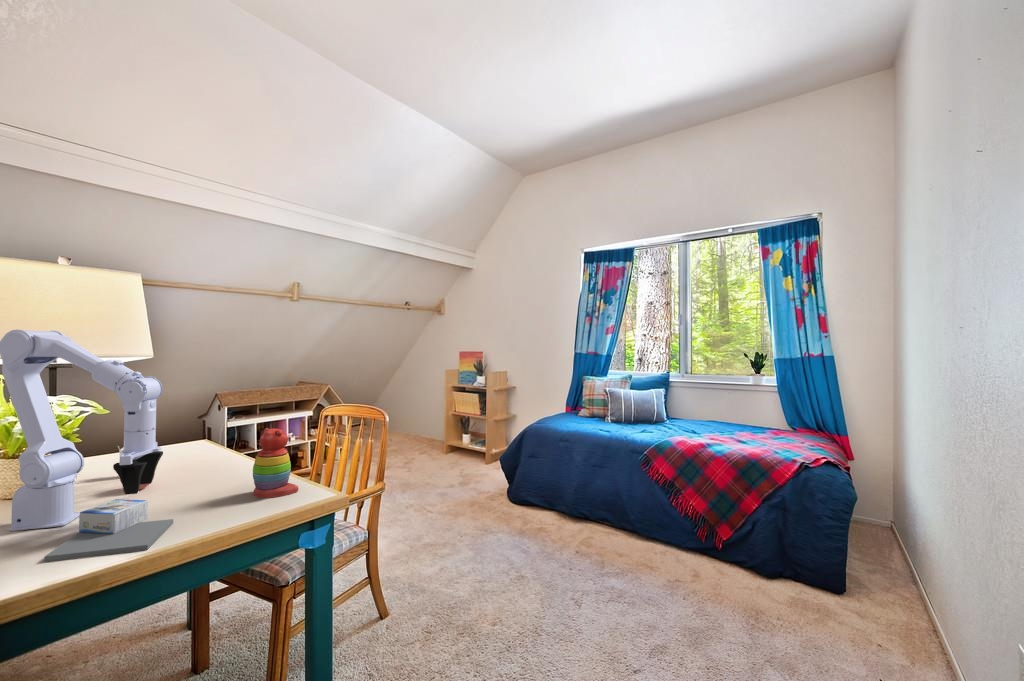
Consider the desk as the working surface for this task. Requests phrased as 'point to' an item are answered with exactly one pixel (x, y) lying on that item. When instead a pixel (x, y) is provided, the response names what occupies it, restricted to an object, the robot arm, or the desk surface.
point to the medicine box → (113, 516)
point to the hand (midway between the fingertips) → (139, 488)
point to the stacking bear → (272, 466)
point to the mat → (111, 541)
